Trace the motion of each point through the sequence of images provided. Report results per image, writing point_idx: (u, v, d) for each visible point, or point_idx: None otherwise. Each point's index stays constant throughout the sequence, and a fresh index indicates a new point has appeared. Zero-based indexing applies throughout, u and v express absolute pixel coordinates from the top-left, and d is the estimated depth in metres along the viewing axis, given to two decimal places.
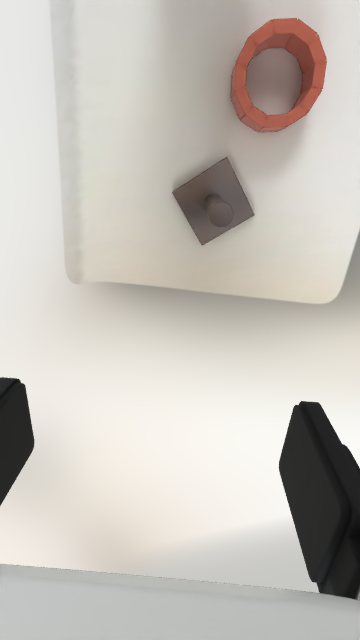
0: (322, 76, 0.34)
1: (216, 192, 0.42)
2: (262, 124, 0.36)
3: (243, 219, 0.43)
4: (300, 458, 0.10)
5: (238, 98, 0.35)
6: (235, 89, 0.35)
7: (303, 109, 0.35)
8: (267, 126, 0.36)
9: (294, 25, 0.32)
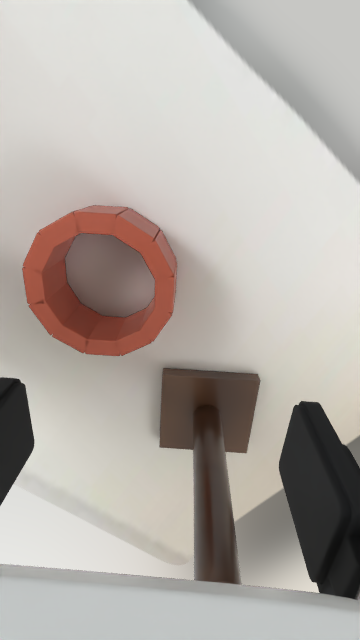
0: (136, 231, 0.18)
1: (195, 406, 0.27)
2: (147, 341, 0.21)
3: (254, 396, 0.27)
4: (300, 458, 0.10)
5: (95, 353, 0.22)
6: (82, 351, 0.22)
7: (165, 278, 0.20)
8: (154, 336, 0.21)
9: (44, 240, 0.19)
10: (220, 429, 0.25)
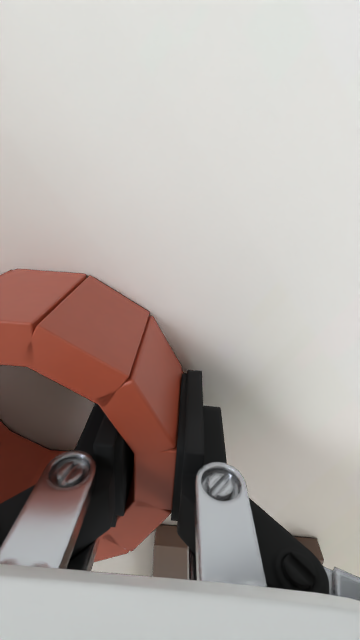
0: (85, 361, 0.07)
1: None
2: (120, 551, 0.10)
3: None
4: None
5: None
6: None
7: (156, 453, 0.09)
8: (135, 544, 0.10)
9: None
10: None
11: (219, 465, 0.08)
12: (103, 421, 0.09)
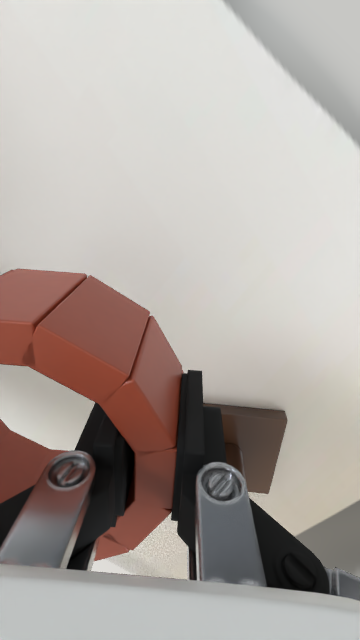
0: (85, 361, 0.08)
1: None
2: (121, 550, 0.11)
3: (280, 435, 0.24)
4: None
5: None
6: None
7: (156, 452, 0.09)
8: (135, 543, 0.10)
9: None
10: (242, 473, 0.23)
11: (219, 465, 0.08)
12: (103, 421, 0.09)
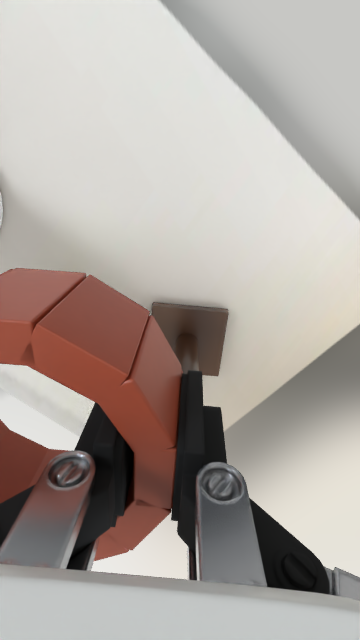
0: (85, 360, 0.07)
1: (178, 334, 0.35)
2: (120, 550, 0.10)
3: (224, 325, 0.34)
4: None
5: None
6: None
7: (156, 452, 0.09)
8: (134, 543, 0.10)
9: None
10: (196, 347, 0.33)
11: (219, 465, 0.08)
12: (103, 421, 0.09)
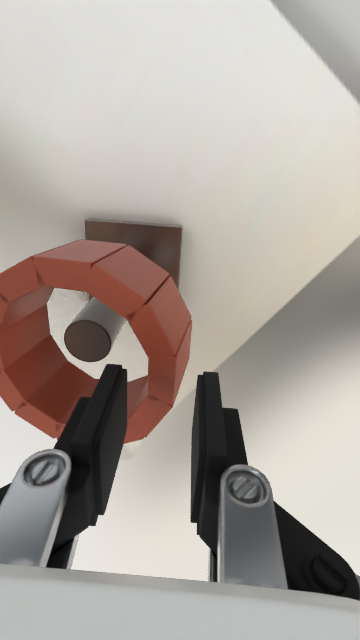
0: (120, 289, 0.12)
1: None
2: (137, 436, 0.15)
3: (177, 245, 0.27)
4: (195, 420, 0.11)
5: None
6: (53, 436, 0.16)
7: (163, 358, 0.13)
8: (147, 432, 0.15)
9: None
10: None
11: (242, 467, 0.08)
12: (82, 420, 0.09)
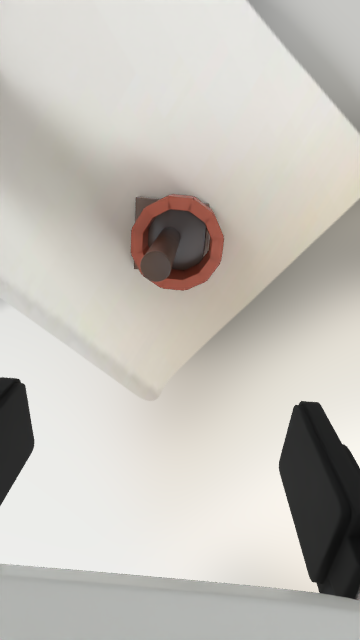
0: (203, 209, 0.31)
1: (161, 228, 0.36)
2: (203, 280, 0.34)
3: None
4: (300, 458, 0.10)
5: (169, 288, 0.35)
6: (160, 286, 0.35)
7: (218, 239, 0.32)
8: (207, 277, 0.34)
9: (147, 213, 0.32)
10: (176, 235, 0.34)
11: None
12: None
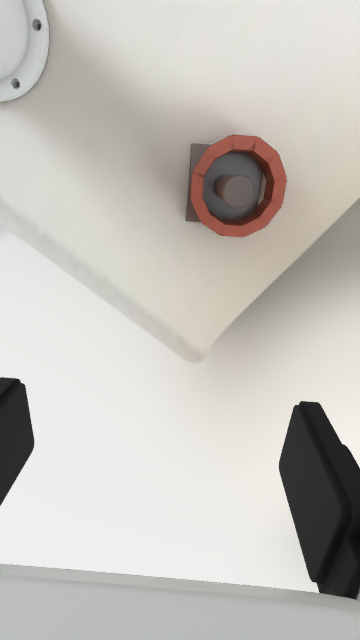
0: (268, 147, 0.31)
1: (215, 176, 0.35)
2: (263, 226, 0.34)
3: None
4: (300, 458, 0.10)
5: (227, 235, 0.34)
6: (219, 233, 0.34)
7: (281, 180, 0.32)
8: (268, 222, 0.33)
9: (210, 154, 0.31)
10: None
11: None
12: None
